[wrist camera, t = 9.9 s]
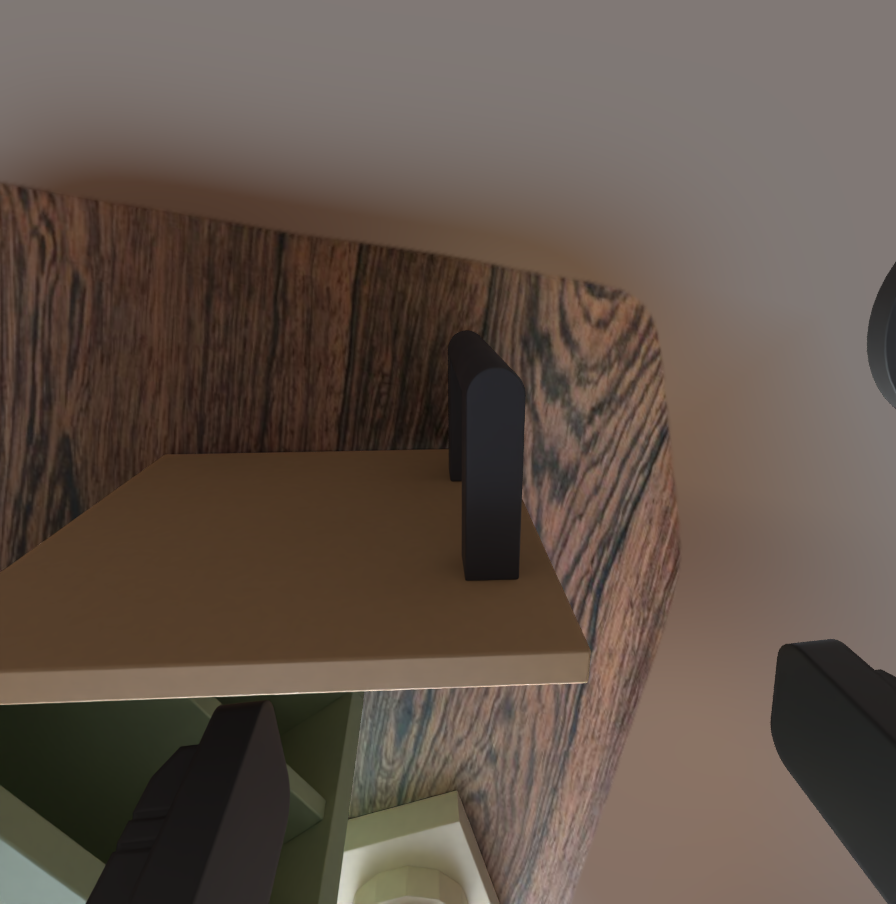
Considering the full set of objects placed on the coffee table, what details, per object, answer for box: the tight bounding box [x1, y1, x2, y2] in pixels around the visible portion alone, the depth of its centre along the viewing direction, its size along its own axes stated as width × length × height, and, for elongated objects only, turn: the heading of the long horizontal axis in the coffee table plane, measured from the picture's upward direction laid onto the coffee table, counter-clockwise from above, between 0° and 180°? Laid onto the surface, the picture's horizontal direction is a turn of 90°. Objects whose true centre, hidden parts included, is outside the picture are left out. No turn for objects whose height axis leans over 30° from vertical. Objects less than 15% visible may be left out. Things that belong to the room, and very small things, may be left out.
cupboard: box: [0, 691, 364, 904], centre depth 24 cm, size 13×17×17 cm
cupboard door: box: [0, 330, 591, 705], centre depth 21 cm, size 7×17×17 cm, turn 90°
